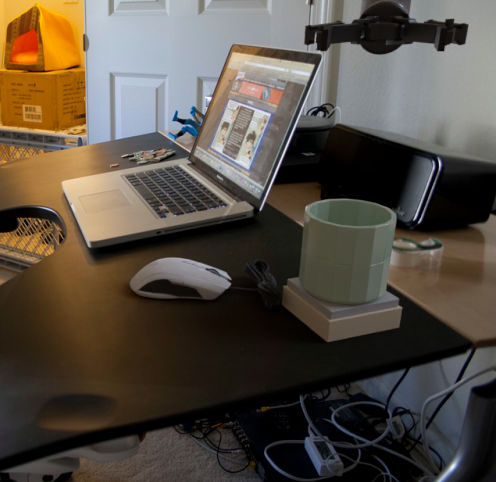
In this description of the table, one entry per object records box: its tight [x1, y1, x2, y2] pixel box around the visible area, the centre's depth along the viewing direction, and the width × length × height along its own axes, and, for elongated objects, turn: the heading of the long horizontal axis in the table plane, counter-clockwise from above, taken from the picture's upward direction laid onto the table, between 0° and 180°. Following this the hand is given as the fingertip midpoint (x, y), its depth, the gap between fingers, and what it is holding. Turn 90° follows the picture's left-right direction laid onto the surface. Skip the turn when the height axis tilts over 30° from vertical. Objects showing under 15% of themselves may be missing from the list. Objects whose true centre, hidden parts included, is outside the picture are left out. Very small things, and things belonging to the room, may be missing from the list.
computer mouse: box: [129, 257, 282, 310], centre depth 78 cm, size 10×18×4 cm, turn 80°
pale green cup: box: [298, 198, 398, 304], centre depth 69 cm, size 9×9×9 cm
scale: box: [281, 276, 403, 343], centre depth 71 cm, size 9×9×4 cm
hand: (381, 40), depth 79 cm, fingers open, 13 cm apart
